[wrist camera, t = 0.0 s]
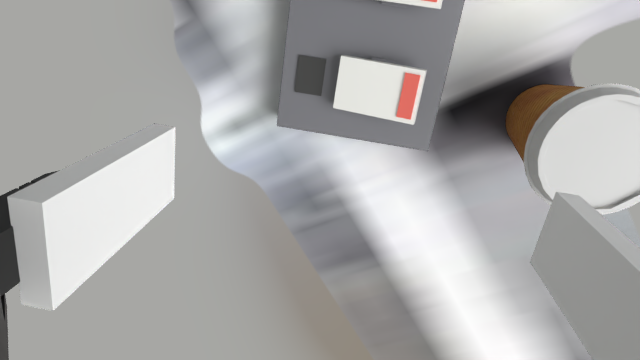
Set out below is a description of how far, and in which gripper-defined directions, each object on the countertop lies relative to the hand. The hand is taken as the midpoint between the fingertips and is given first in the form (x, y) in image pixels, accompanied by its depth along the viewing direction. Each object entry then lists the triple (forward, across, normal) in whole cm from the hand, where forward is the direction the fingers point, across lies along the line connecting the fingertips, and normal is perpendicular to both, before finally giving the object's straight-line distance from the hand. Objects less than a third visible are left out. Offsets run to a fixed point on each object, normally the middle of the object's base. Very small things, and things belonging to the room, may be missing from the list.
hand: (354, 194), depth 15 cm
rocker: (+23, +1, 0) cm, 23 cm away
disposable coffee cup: (+28, +17, -1) cm, 33 cm away
